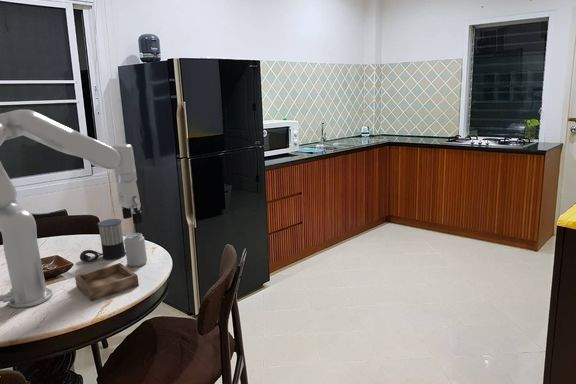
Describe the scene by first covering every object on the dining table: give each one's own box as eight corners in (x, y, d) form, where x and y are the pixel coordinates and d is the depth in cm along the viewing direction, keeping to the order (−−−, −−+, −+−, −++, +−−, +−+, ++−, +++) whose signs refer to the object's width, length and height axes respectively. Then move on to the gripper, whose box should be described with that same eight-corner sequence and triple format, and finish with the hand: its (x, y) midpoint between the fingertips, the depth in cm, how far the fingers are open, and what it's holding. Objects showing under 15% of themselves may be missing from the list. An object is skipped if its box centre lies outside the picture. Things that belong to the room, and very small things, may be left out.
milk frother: (131, 253, 186) (126, 219, 182) (100, 267, 172) (94, 231, 169) (107, 249, 192) (102, 216, 189) (75, 262, 179) (69, 227, 175)
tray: (91, 301, 144) (89, 290, 143) (76, 286, 156) (74, 276, 155) (138, 285, 154) (137, 275, 154) (121, 272, 166) (119, 262, 165)
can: (141, 268, 170) (137, 238, 167) (123, 267, 171) (119, 238, 169) (150, 260, 177) (147, 232, 174) (133, 259, 179) (130, 231, 176)
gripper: (107, 176, 170) (114, 218, 174) (125, 182, 157) (132, 227, 162) (126, 172, 175) (133, 214, 179) (145, 178, 162) (151, 222, 166)
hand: (132, 220), depth 170 cm, fingers open, 9 cm apart
